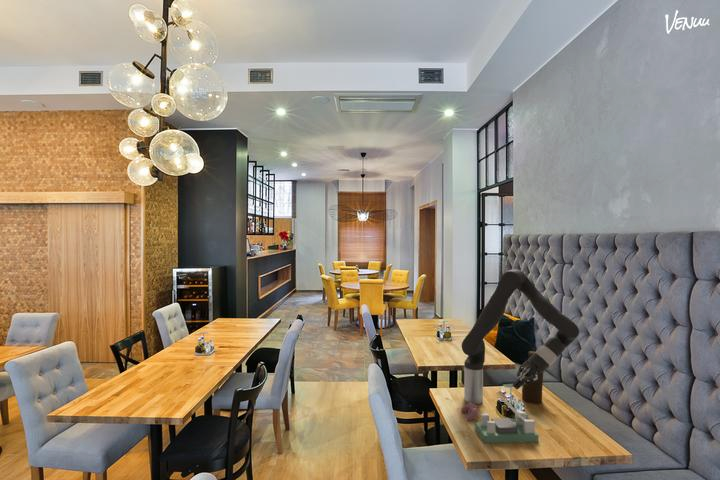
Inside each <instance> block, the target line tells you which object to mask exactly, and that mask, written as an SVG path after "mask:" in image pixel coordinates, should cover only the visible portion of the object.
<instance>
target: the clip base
mask: <svg viewBox="0 0 720 480" xmlns="http://www.w3.org/2000/svg"><path fill="white" fill-rule="evenodd" d="M517 412H518V413H519V414H520V415H521V416H523V417H524V418H525V419H526V420H523V422H522V421H521V420H520V418H519V417H518V416H517V415H516V414H515V413H514V415H515V421H512V419H510V417H503V418H502V417H500V418H499V417H498V418H494V417H493V418H491V419H490V415H489V413H481V414H480V421H479V422H476V421H475V424H474V426H475V428H474V429H475V431H476V432H477V434H478V435H479V437H480V438H481V439H482V441H483V443H484V444H499V443H500V444H501V443H502V444H503V443H506V444H507V443H512V444H513V443H539V434H538V432H536V428H535V427H536V426H535V425H536V424H535V423H536V421H535V420H534V419H527V412H525V411H517Z"/></svg>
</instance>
